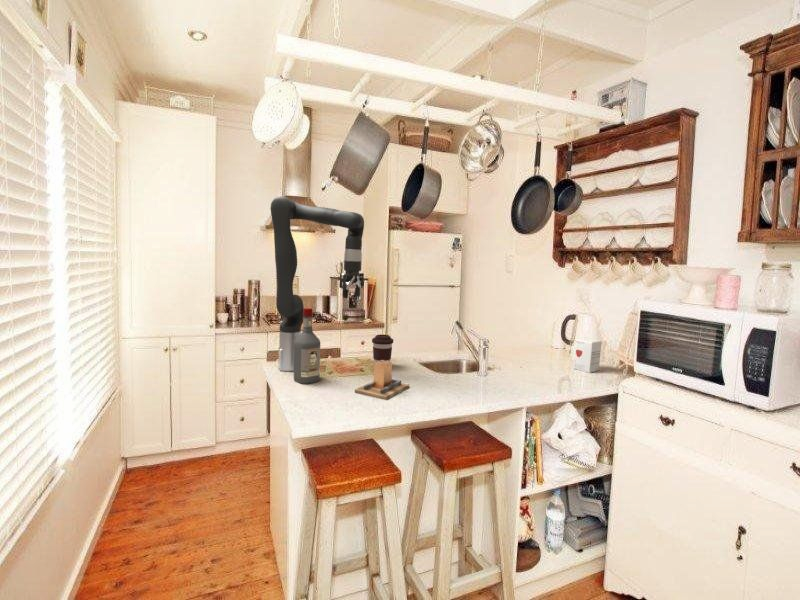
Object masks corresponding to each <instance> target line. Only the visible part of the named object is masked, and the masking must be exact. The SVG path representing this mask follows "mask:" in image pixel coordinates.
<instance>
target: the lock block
mask: <svg viewBox="0 0 800 600" xmlns="http://www.w3.org/2000/svg"><path fill="white" fill-rule="evenodd" d="M392 370H393V362H392V360H390V361H386V360H381V361H378V362H376V363H374V362H373V381H374V386H373V388H376V389H380V390H381V389H383V388H385V387H387V386H389V385H391V379H392V377H393V375H392Z"/></svg>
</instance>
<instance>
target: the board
mask: <svg viewBox="0 0 800 600" xmlns="http://www.w3.org/2000/svg"><path fill="white" fill-rule="evenodd" d="M373 386H374V380H373V381H371V382H369V383H367V384H364V385H363V386H360V387H357V388H356V389H354V393H355V394H358V395H364V396H368V397H372V398H375V397H376V398H377V399H381V400H385V401H387V400H389V399H391V398H392V397H394V396H396V395H398V394H400V393H402V392H403V391H406V390H408V389H409V388H410V384H407V383H403V382H402V380H398V379H394V378H393V379H392V378H391V385H389V386H387V387H385V388H383V389H381V390H380V389H376V388H373Z"/></svg>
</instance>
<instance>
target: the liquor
mask: <svg viewBox="0 0 800 600" xmlns="http://www.w3.org/2000/svg"><path fill="white" fill-rule="evenodd" d="M320 378H321V340H320V338H319V337H318V336H317V335H316V334H315V333H314V330H313V308H312V307H303V323H302V329H301V334H300V335H299V336H298V337H297V339H296V340H295V342H294V371H293V380H294V381H295V382H296V383H299V384H300V385H301V384H302V385H309V384H314V383H318V381H319V380H320Z"/></svg>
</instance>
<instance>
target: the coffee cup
mask: <svg viewBox="0 0 800 600" xmlns="http://www.w3.org/2000/svg"><path fill="white" fill-rule="evenodd" d="M371 343H373V344H372V345H373V346H372V355H373V358H372V359H373V364H374V363H376V362H378V361H381V360H386V361H391V359H392V352H393V351H392V350H393V343H394V338H392V337H391V335H389V334H382V333H380V334H376V335H375V336H374V337H373V338H372V339H371Z"/></svg>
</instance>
